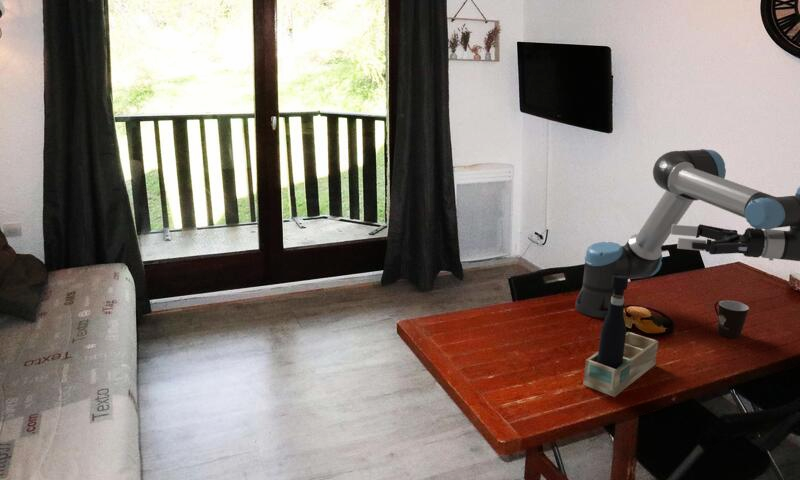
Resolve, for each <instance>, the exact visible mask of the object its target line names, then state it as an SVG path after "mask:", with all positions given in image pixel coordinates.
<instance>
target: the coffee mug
mask: <svg viewBox="0 0 800 480" xmlns="http://www.w3.org/2000/svg"><path fill="white" fill-rule="evenodd" d="M717 305H718V308H717ZM749 309H750V307H749V306H748V305H746V304H745V303H743V302H739V301H737V300H736V301H735V300H721V301H716V302H715V303H714V311H715V313H716V315H717V317H718V320H717V321H718V322H717V334H718V335H719V336H721V337H723V338H727V339H732V340H736V339H739V338H740V337H741V334H742V330H743V328H744V325H745V321H746V318H747V316H748V312H749V311H750V310H749Z"/></svg>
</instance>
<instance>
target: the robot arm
mask: <svg viewBox="0 0 800 480" xmlns="http://www.w3.org/2000/svg"><path fill="white" fill-rule="evenodd" d="M726 169H727V168H726V163H725V160H724V159H723V157H722V156H721V155H720V153H719V152H717V151H716V150H712V149H704V148H701V149H700V148H699V149H688V150H671V151H669V152H666V153H664V154H662V155H661V156H660V157H658V158H657V160H656V161H655V162H654V165H653V168H652V176H653V180H654V182H655V184H657V186H658V187H660V188H661V189H662V190H664V191H665V192H664V193H663V195H662V197H661V198H660V199H659V201H658V203H657V204H656V206H655V207H654V208H653V210H652V212H651V214H650V215H649V217H648V218H647V219H646V221H645V223H644V224H643V225H642V227H641V229H640V230H639V232H638V233H637V234H633V235H631V236H630V237H629V239H628V240H627V242H626V243H625V244H624V245H620V244H619V243H617V242H611V241H608V242H606V241H600V242H596V243H593V244H591V245H589V246H588V247H587V249H586V254H585V256H584V270H583V279H582V287H581V289H580V292H579V293H578V295H577V298H576V299H575V304H574V307H575V308H574V309H575V310H576V311H577V312H579V313H580V314H582V315H585V316H587V317H592V318H597V319H605V318H606V316H607V314H608V312H609V304H610V302H611V297H612V296H613V292H614V288H612V287H611V286H612V278H613V274H624V275H627V276H628V280H633V279H644V278H649V277H652V276H654V275H655V274H657V273H658V272H659V271H660V269H661V267H662V264H663V262H662V260H663V255H662V253H663V252H662V247H663V245H664V244H665V242H666V241H667V240H668V238H669V237H670V235H673V236H683V237H678V238H677V239H678V240H677V244H676V245H677V247H676V249H679V250H680V249H681V250H691V251H703V252H706V253H709V255H725V254H743V256H745V257H747V258H748V257H749V258H760V257H762V259H769V261H774V259H775V260H784V261H793V262H794V261H795V262H800V186H798V187H797V190H796V193H794V194H795V195H788V196H774V195H771V194H769V193H765V192H763V191H761V190H760V191H759V190H757V189H754V188H752V187H748V186H746V185H743V184H740V183H738V182H735V181H731V180H728V179H726V178H725V177H726V175H727V173H726V172H727V170H726ZM695 201H702V202H704V203H706V204H709V205H712V206H714V207H716V208H719V209H721V210H723V211H726V212H729V213H732V214H734V215H736V216H739V217H742V218H744V219H745V220H746V222H747V223H748V224H749V225H750V227H747V228H746V229H745V231H744V232H743V234H739V233H738V230H736V229H726V228H721V227H716V226H711V225H706V224H698V225H695V226H694V225H686V224H678V223H679V222H680V221H681V219H682V218H683V217H684V215H685V214H686V212H687V211H688V209H689V208H690V207H691V205H692V203H693V202H695ZM786 227H789V230H781V229H779V228H786ZM777 228H778V229H777ZM684 236H687V237H695V238H697V239H695V238H685V237H684ZM700 237H703V238H706V239H700Z"/></svg>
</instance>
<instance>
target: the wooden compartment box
mask: <svg viewBox="0 0 800 480" xmlns="http://www.w3.org/2000/svg"><path fill="white" fill-rule="evenodd" d="M658 346H659V341H658V340H656V339H653V338H650V337H646V336H643V335H640V334H636V333H634V332H630V331H626V339H625V346H624V354H623V361H622V365H621V366H619V367H618V368H617V369H614V368H611V367H608V366H605V365H603V364H600V363H597V358H598V351H597V352H595V353H594V354H593V355H591V356H590V357H588V358H586V359H585V364H584V373H583V374H584V375H583V382H582V386H585V387H588V388H589V389H592V390H595V391H598V392H600V393H602V394H606V395H607V396H608V395H609V396H611V397H613V398H616V397H617V396H618V395H619V394H620V393H621V392H623V391H624V390H625V389H626V388H628V387H629V386H630V385H631V384H633V383H634V382H635V381H637V380H638V379H639V378H641V376H643V375H644V374H645V373H647V372H648V371H649V370H651V368H653V367H655V365H656V359H657V353H658V348H659V347H658Z"/></svg>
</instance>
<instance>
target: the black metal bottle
mask: <svg viewBox="0 0 800 480" xmlns="http://www.w3.org/2000/svg"><path fill="white" fill-rule="evenodd" d="M628 282H629V279H628V276H627V275H624V274H613V278H612V286H611V287H612V288H614V292H613V296H612V297H611V302H610V304H609V312H608V314H607V316H606V318H604V320H603V323H602V325H601V329H600V336H599V341H598V342H599V343H598V344H599V345H598V351H597V352H598V358H597V363H600V364H603V365H605V366H608V367H611V368H614V369H617V368H618V367H619V366H621V365H622V361H623V354H624V346H625V339H626V333H627V325H626V321H625V320H626V319H625V315H624V313H625V312H624V311H625V297H624V293H625V291H626V290H627V289H628Z"/></svg>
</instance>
